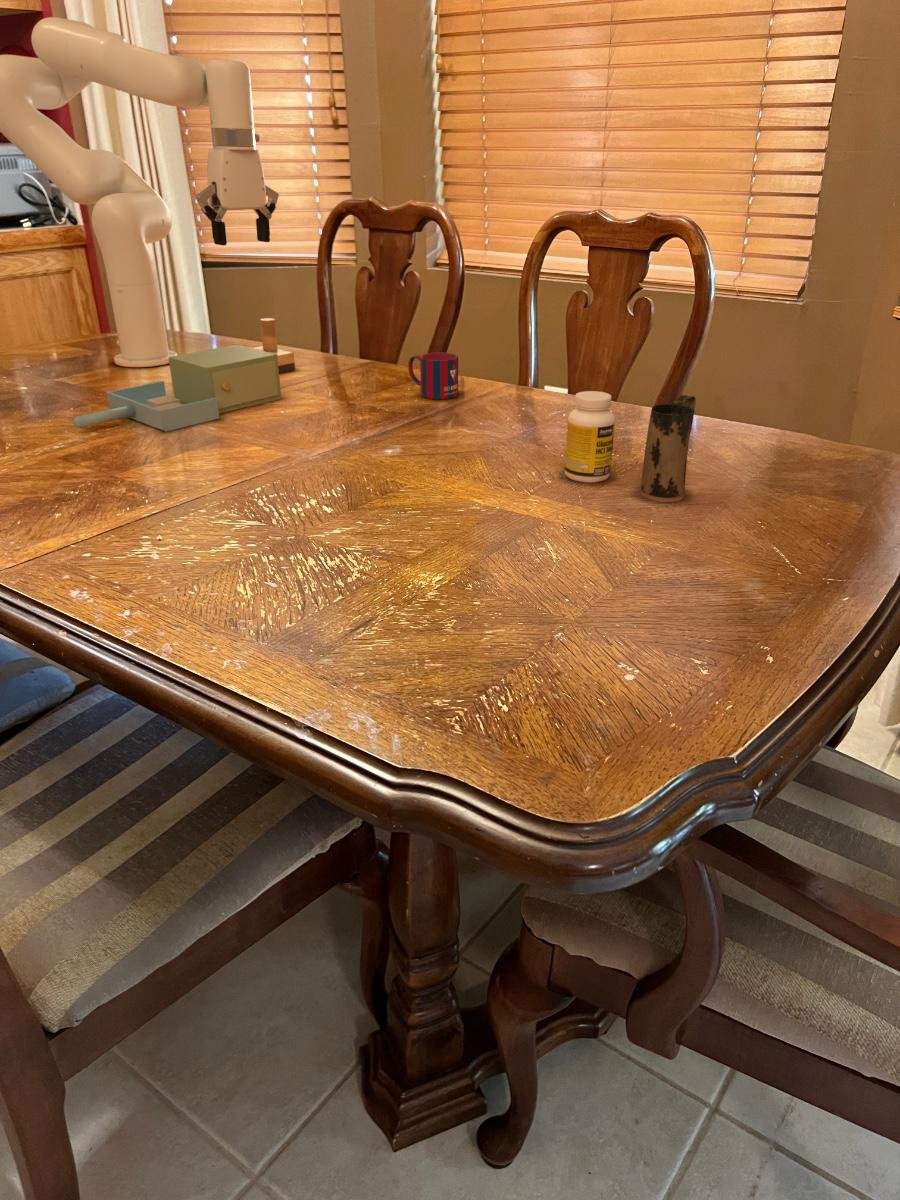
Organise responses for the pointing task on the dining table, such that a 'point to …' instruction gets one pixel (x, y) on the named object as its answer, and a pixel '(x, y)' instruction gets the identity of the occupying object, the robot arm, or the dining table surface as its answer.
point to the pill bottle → (590, 438)
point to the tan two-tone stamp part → (275, 346)
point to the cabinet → (226, 377)
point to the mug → (667, 450)
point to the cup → (437, 375)
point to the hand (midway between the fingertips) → (242, 243)
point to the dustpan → (150, 409)
